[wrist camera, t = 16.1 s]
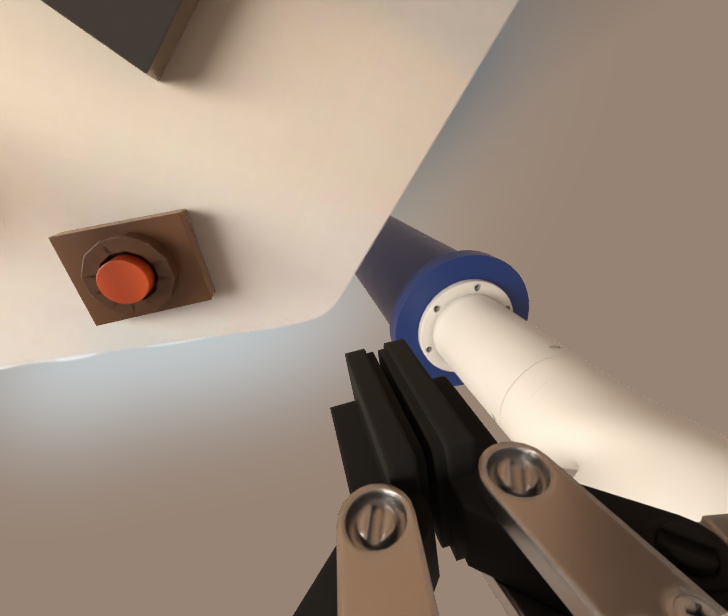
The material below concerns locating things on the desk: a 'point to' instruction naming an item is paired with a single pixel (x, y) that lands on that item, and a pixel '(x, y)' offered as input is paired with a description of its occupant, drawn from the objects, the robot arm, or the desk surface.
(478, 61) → the desk surface
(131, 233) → the brown button mount
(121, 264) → the timer button
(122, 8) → the panel
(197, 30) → the desk surface
